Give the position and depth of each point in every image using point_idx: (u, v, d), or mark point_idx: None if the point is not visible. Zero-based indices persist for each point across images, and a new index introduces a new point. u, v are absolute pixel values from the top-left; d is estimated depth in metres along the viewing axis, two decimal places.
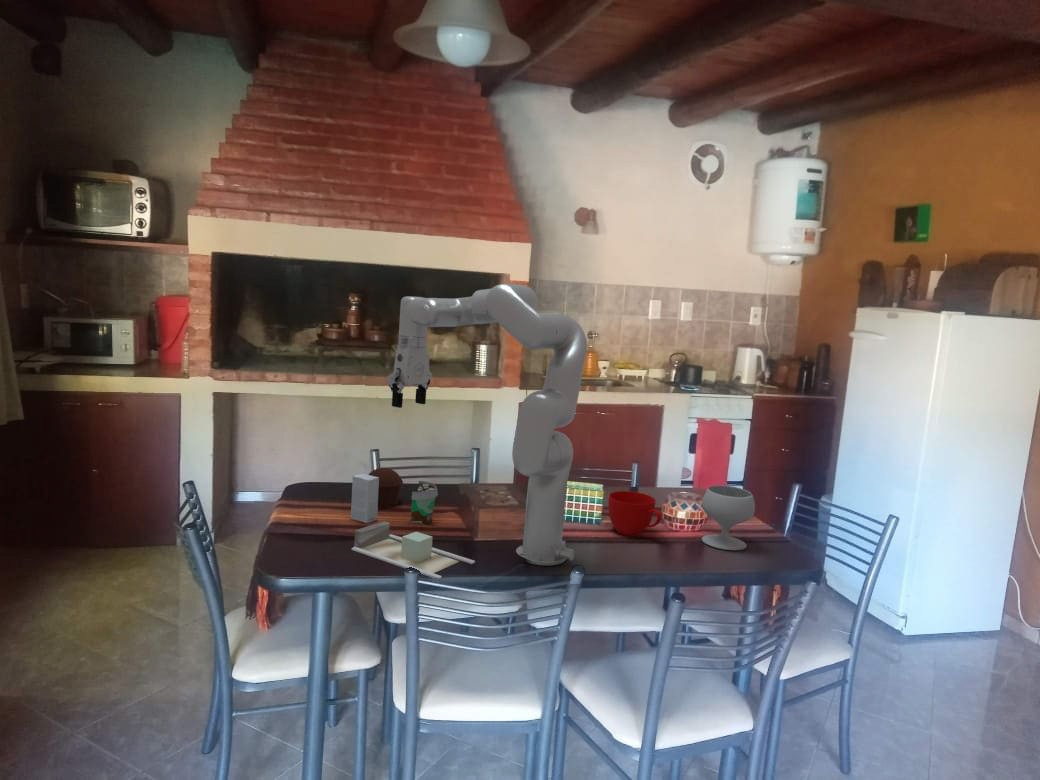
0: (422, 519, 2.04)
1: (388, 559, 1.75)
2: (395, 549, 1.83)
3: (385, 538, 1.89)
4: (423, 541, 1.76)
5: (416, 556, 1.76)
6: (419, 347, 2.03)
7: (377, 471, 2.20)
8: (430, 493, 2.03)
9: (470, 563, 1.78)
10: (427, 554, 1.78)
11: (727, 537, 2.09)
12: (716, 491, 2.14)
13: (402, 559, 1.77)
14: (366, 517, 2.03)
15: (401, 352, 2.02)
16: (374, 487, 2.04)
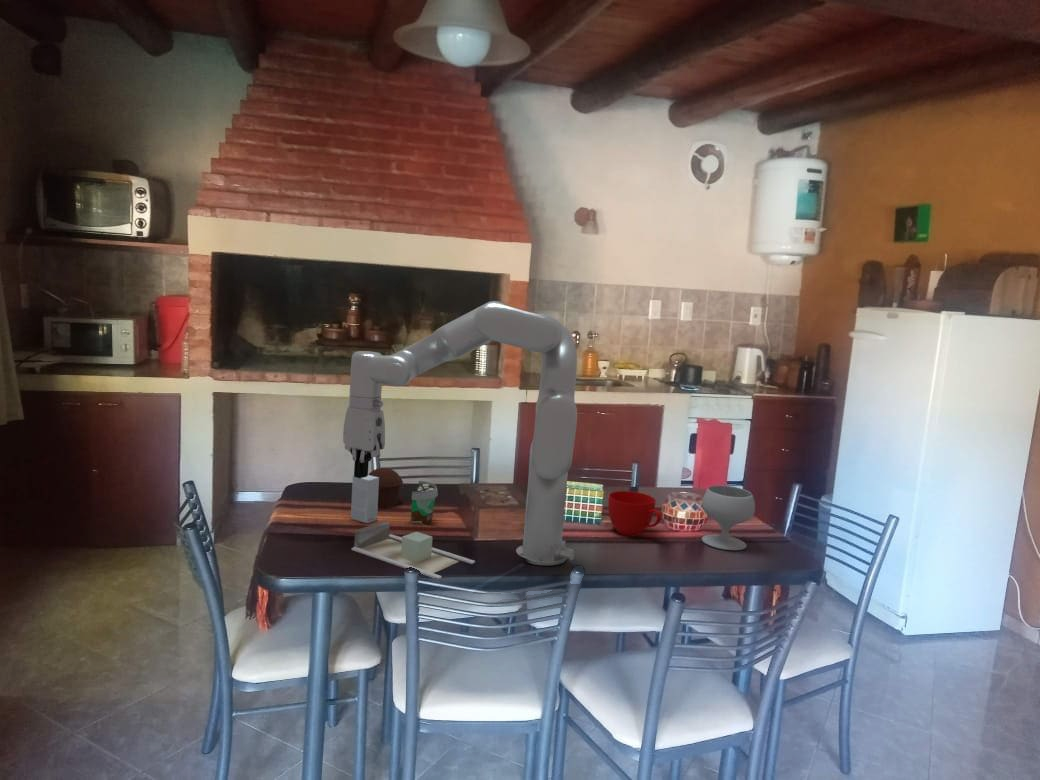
0: (422, 519, 2.04)
1: (388, 559, 1.75)
2: (395, 549, 1.83)
3: (385, 538, 1.89)
4: (423, 541, 1.76)
5: (416, 556, 1.76)
6: None
7: (377, 471, 2.20)
8: (430, 493, 2.03)
9: (470, 563, 1.78)
10: (427, 554, 1.78)
11: (727, 537, 2.09)
12: (716, 491, 2.14)
13: (402, 559, 1.77)
14: (366, 517, 2.03)
15: (379, 415, 1.82)
16: (374, 487, 2.04)
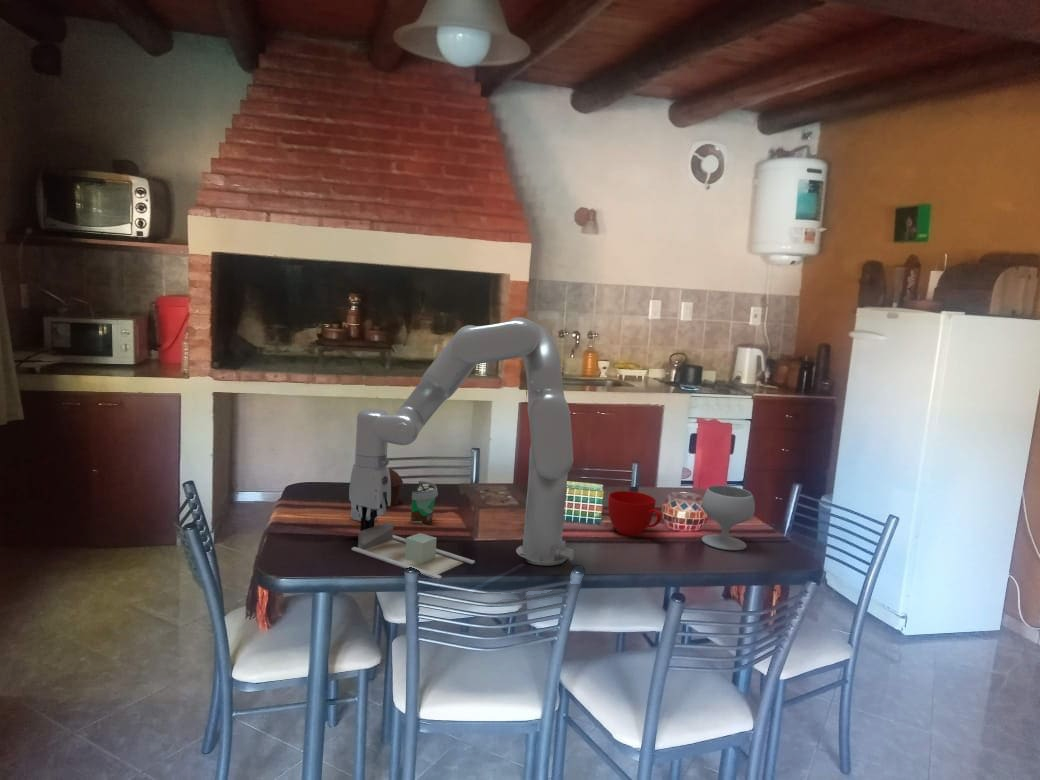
0: (422, 519, 2.04)
1: (388, 559, 1.75)
2: (399, 550, 1.82)
3: (389, 539, 1.88)
4: (427, 542, 1.76)
5: (420, 557, 1.75)
6: None
7: None
8: (430, 493, 2.03)
9: (470, 563, 1.78)
10: (431, 556, 1.78)
11: (727, 537, 2.09)
12: (716, 491, 2.14)
13: (406, 561, 1.76)
14: None
15: (385, 474, 1.82)
16: None
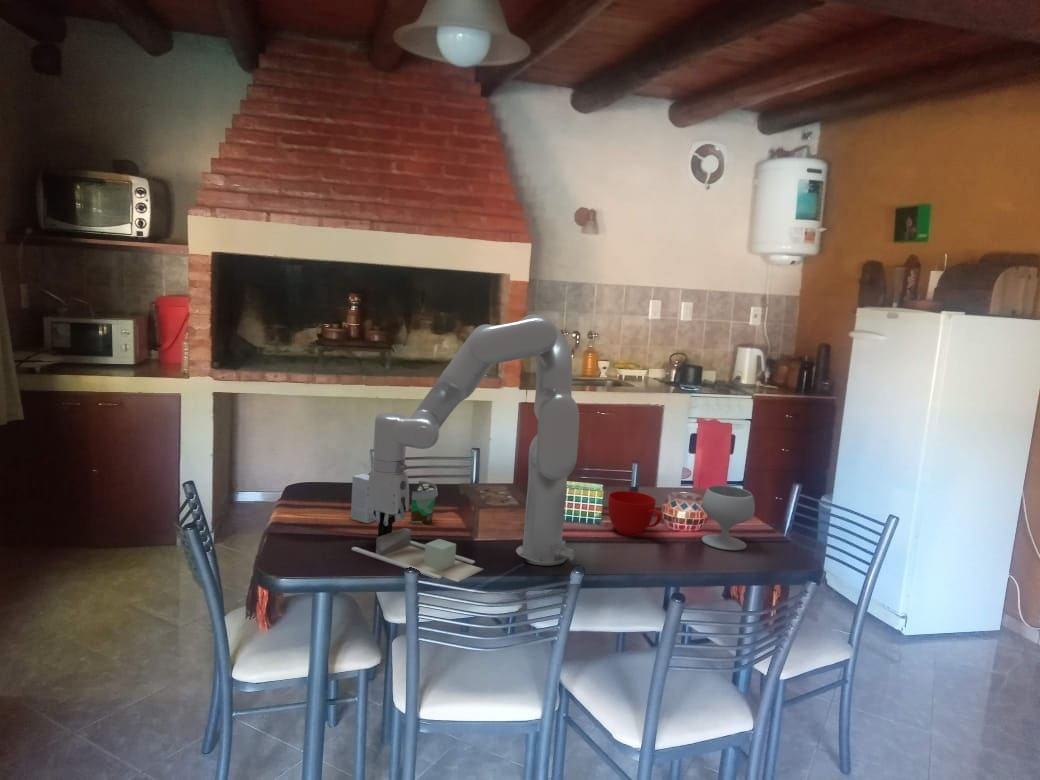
0: (422, 519, 2.04)
1: (388, 559, 1.75)
2: (417, 556, 1.79)
3: (406, 545, 1.85)
4: (447, 548, 1.73)
5: (440, 564, 1.72)
6: None
7: None
8: (430, 493, 2.03)
9: (470, 563, 1.78)
10: (451, 562, 1.75)
11: (727, 537, 2.09)
12: (716, 491, 2.14)
13: (425, 567, 1.73)
14: (366, 517, 2.03)
15: (403, 478, 1.80)
16: None
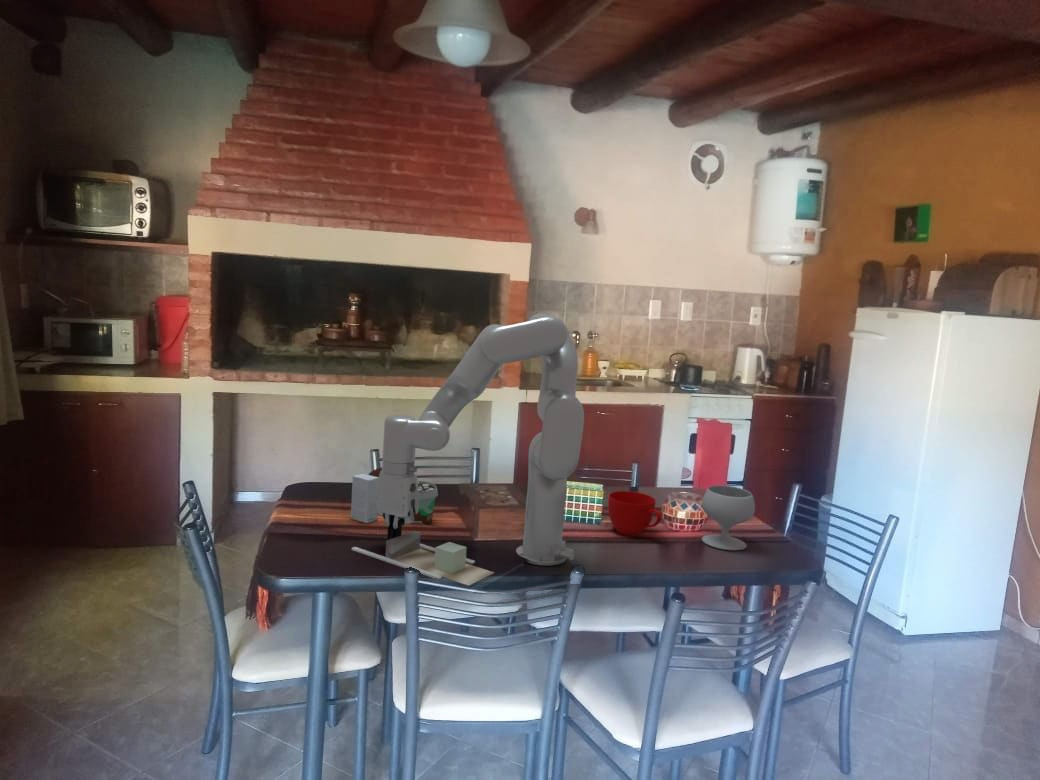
0: (422, 519, 2.04)
1: (388, 559, 1.75)
2: (427, 559, 1.78)
3: (416, 548, 1.84)
4: (457, 552, 1.71)
5: (450, 567, 1.70)
6: None
7: (377, 471, 2.20)
8: (430, 493, 2.03)
9: (470, 563, 1.78)
10: (461, 565, 1.73)
11: (727, 537, 2.09)
12: (716, 491, 2.14)
13: (435, 571, 1.71)
14: (366, 517, 2.03)
15: (413, 481, 1.78)
16: (374, 487, 2.04)
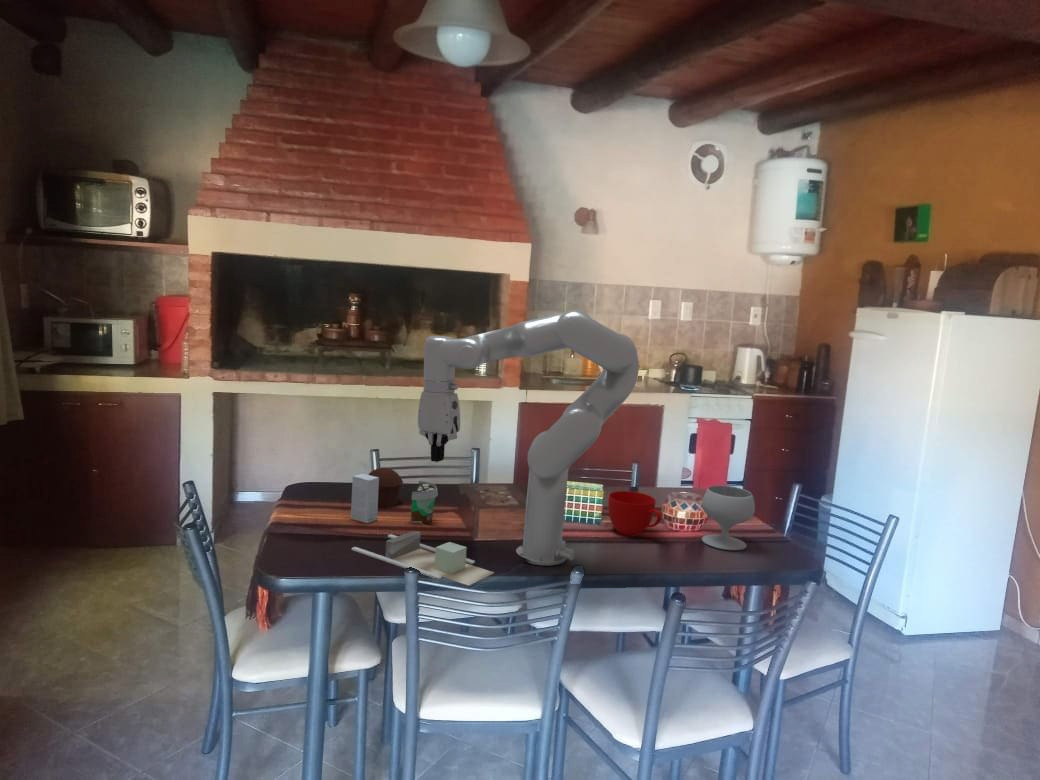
0: (422, 519, 2.04)
1: (388, 559, 1.75)
2: (427, 559, 1.78)
3: (416, 548, 1.84)
4: (457, 552, 1.71)
5: (450, 567, 1.70)
6: None
7: (377, 471, 2.20)
8: (430, 493, 2.03)
9: (470, 563, 1.78)
10: (461, 565, 1.73)
11: (727, 537, 2.09)
12: (716, 491, 2.14)
13: (435, 571, 1.71)
14: (366, 517, 2.03)
15: (455, 398, 1.84)
16: (374, 487, 2.04)
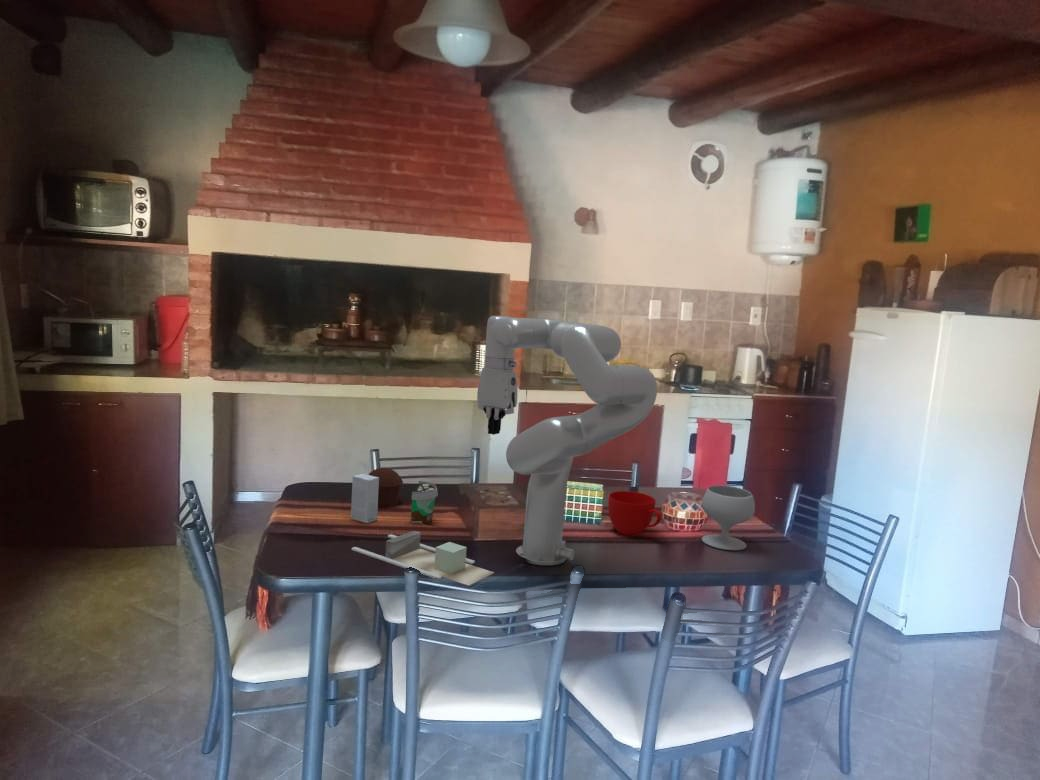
0: (422, 519, 2.04)
1: (388, 559, 1.75)
2: (427, 559, 1.78)
3: (416, 548, 1.84)
4: (457, 552, 1.71)
5: (450, 567, 1.70)
6: None
7: (377, 471, 2.20)
8: (430, 493, 2.03)
9: (470, 563, 1.78)
10: (461, 565, 1.73)
11: (727, 537, 2.09)
12: (716, 491, 2.14)
13: (435, 571, 1.71)
14: (366, 517, 2.03)
15: (513, 375, 1.95)
16: (374, 487, 2.04)
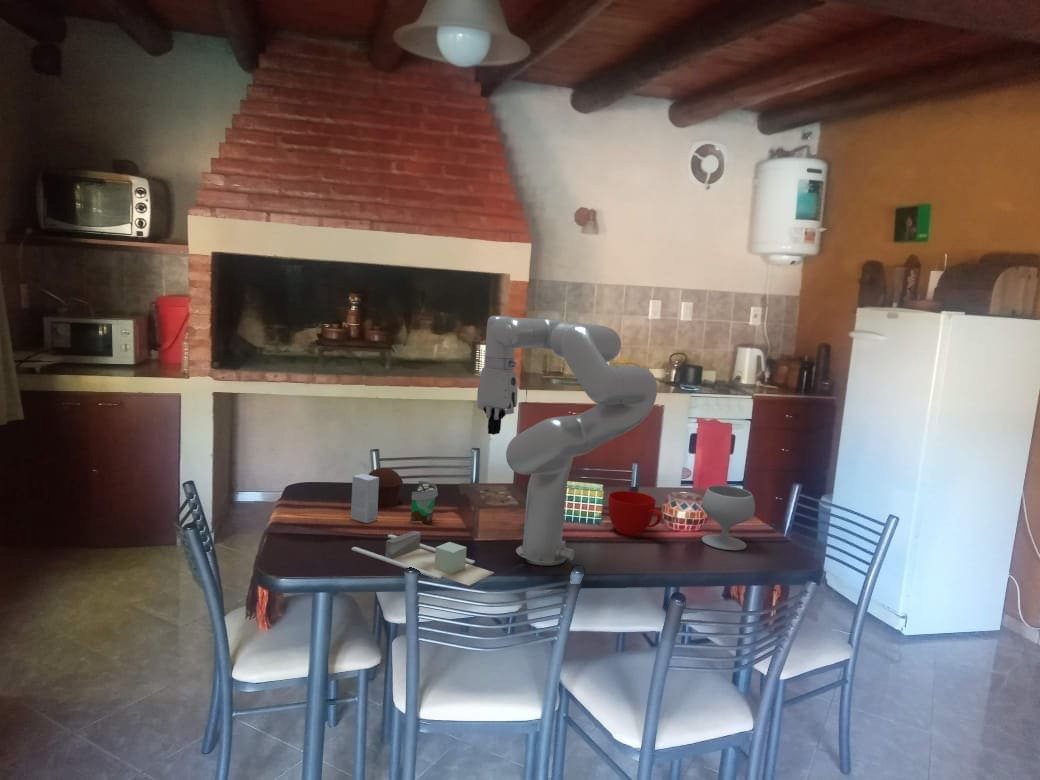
0: (422, 519, 2.04)
1: (388, 559, 1.75)
2: (427, 559, 1.78)
3: (416, 548, 1.84)
4: (457, 552, 1.71)
5: (450, 567, 1.70)
6: None
7: (377, 471, 2.20)
8: (430, 493, 2.03)
9: (470, 563, 1.78)
10: (461, 565, 1.73)
11: (727, 537, 2.09)
12: (716, 491, 2.14)
13: (435, 571, 1.71)
14: (366, 517, 2.03)
15: (513, 375, 1.95)
16: (374, 487, 2.04)
